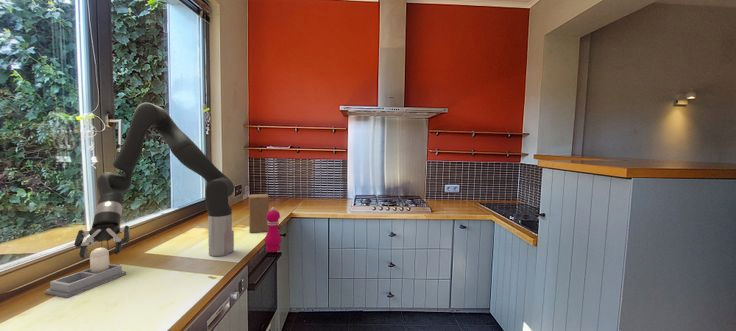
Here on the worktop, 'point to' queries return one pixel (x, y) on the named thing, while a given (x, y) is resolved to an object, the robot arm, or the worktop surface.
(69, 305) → the worktop surface
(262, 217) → the wooden block
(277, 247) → the pepper mill
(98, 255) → the cream capsule shape
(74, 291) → the grey divided tray
